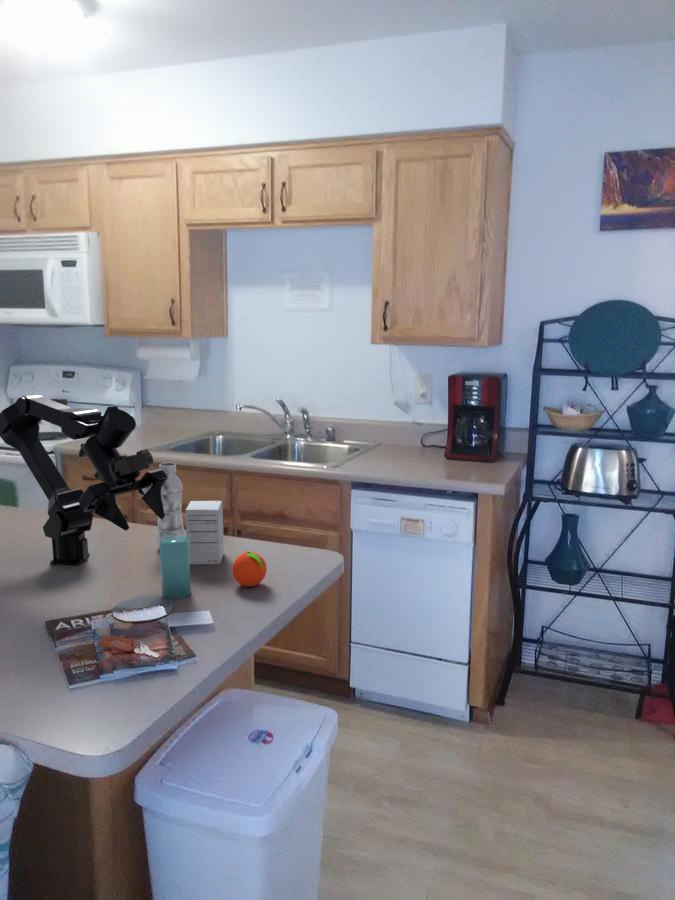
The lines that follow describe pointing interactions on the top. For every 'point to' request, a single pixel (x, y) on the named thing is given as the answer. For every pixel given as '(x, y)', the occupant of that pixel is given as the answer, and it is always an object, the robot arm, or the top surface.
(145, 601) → the coaster
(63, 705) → the top surface
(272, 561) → the top surface
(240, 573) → the clementine
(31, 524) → the top surface
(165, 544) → the cylinder
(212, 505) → the supplement box
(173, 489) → the plastic bottle
